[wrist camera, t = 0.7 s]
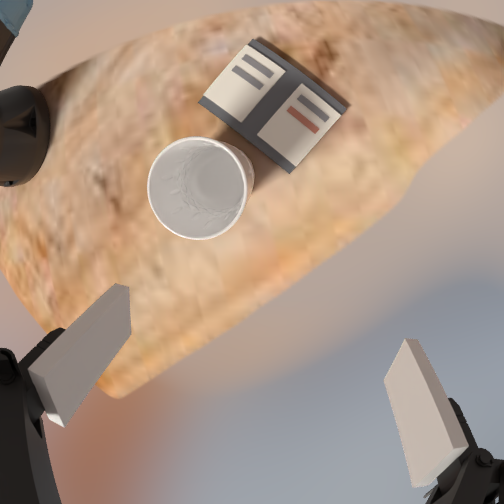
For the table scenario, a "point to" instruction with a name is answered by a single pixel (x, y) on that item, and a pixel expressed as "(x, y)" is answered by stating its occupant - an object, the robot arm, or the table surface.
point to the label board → (272, 104)
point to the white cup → (200, 186)
